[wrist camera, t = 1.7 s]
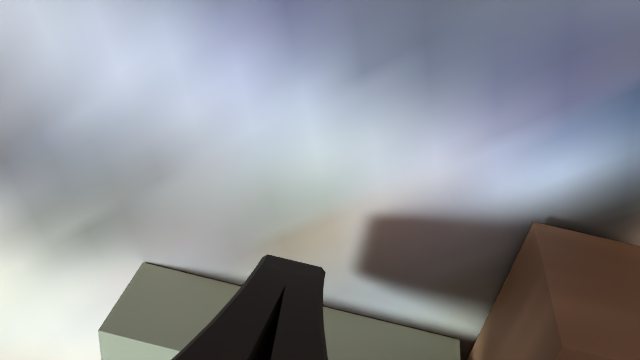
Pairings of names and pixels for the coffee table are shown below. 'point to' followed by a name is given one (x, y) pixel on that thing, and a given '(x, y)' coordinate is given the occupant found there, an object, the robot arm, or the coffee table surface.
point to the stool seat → (207, 301)
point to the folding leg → (566, 301)
